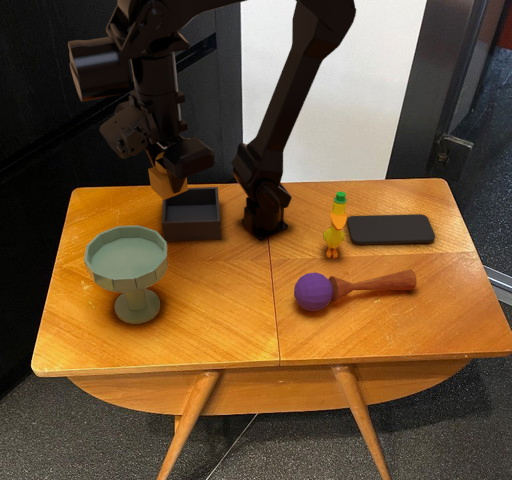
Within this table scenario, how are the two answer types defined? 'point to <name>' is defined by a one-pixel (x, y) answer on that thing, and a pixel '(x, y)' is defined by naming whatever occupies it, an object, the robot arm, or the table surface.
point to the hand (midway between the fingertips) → (169, 185)
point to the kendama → (344, 287)
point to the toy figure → (336, 224)
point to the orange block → (163, 181)
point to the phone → (390, 229)
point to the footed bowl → (129, 269)
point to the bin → (192, 215)
